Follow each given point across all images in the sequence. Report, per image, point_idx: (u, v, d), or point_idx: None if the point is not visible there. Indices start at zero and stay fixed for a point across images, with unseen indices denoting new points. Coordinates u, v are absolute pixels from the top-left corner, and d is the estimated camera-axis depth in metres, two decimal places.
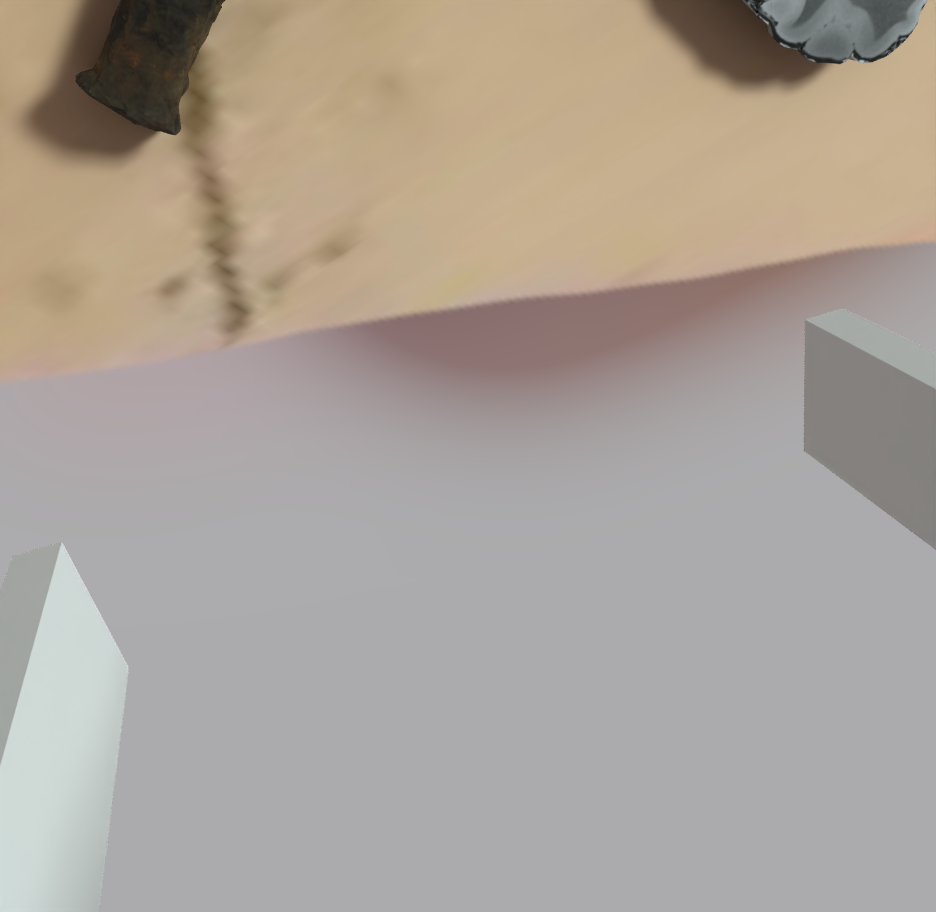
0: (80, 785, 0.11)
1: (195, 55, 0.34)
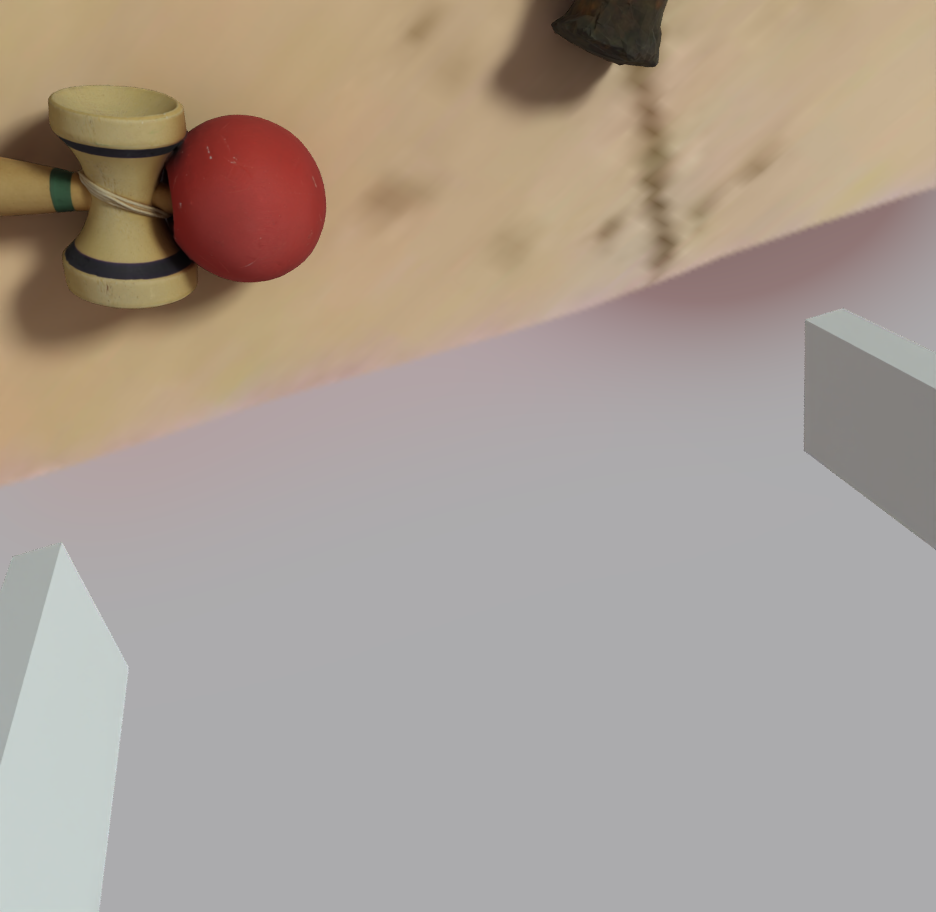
0: (81, 785, 0.11)
1: None
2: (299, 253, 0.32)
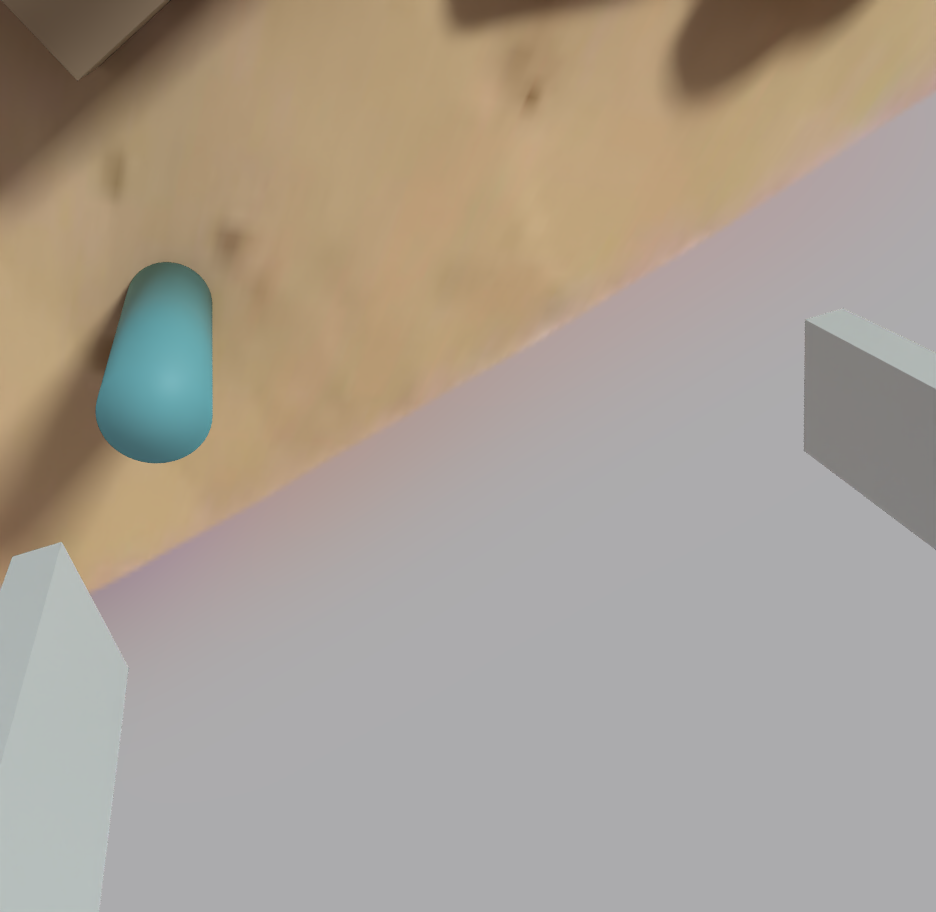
0: (80, 785, 0.11)
1: None
2: None
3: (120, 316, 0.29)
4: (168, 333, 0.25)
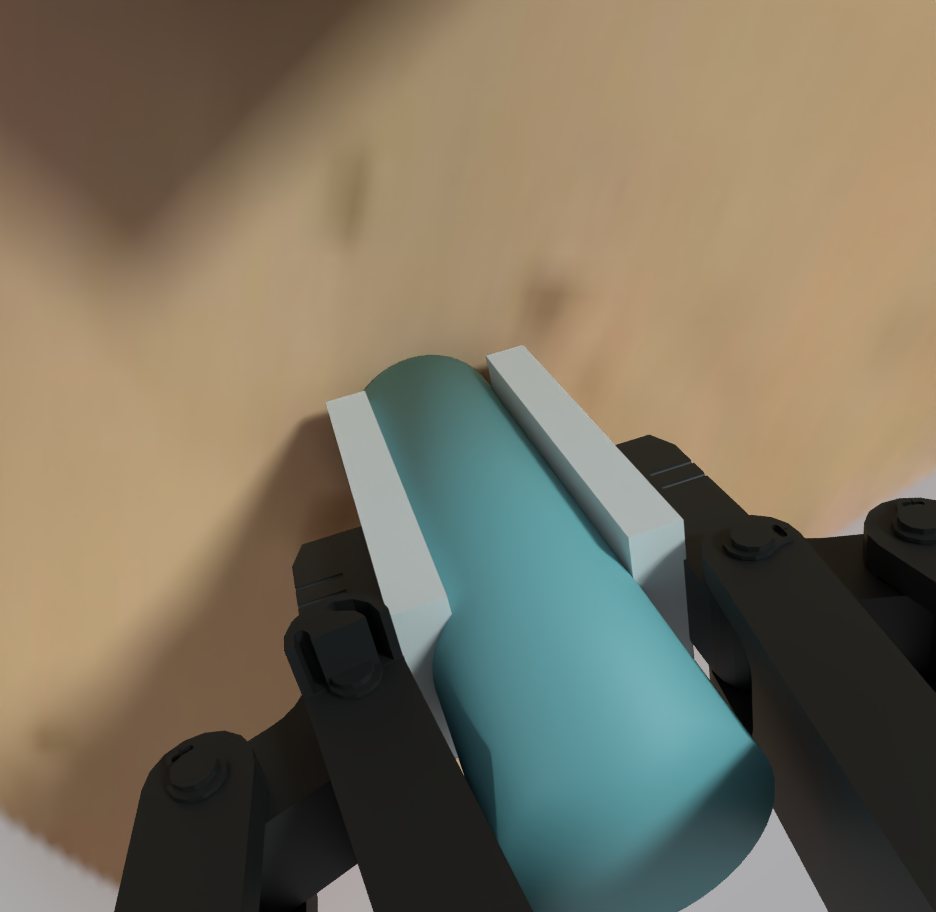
0: None
1: None
2: None
3: None
4: (592, 578, 0.10)
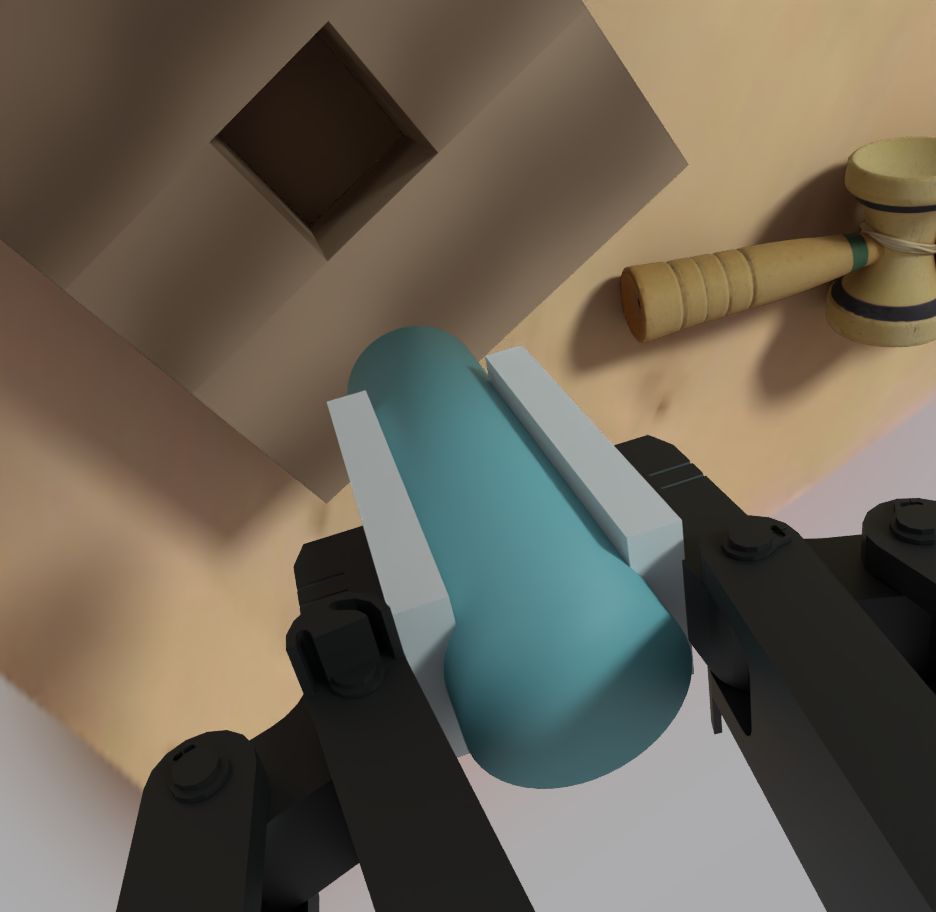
0: None
1: None
2: None
3: None
4: (545, 495, 0.12)
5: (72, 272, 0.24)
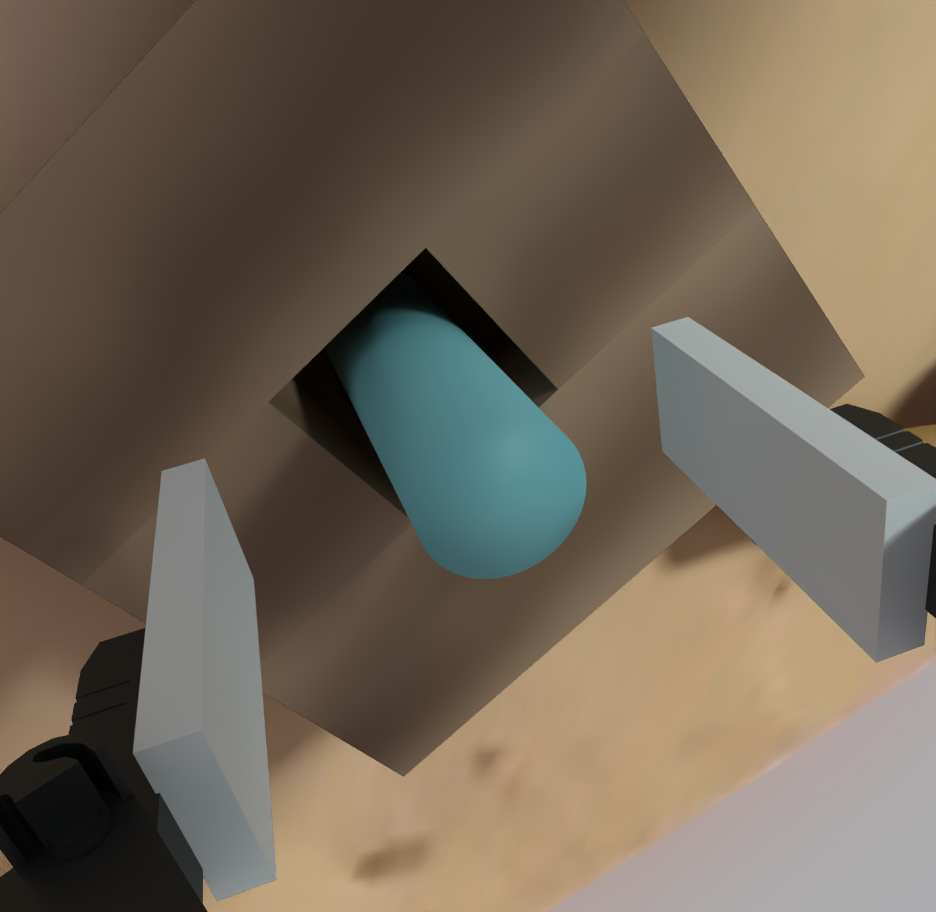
0: (243, 660, 0.13)
1: None
2: None
3: (342, 350, 0.20)
4: (477, 366, 0.16)
5: (92, 563, 0.18)
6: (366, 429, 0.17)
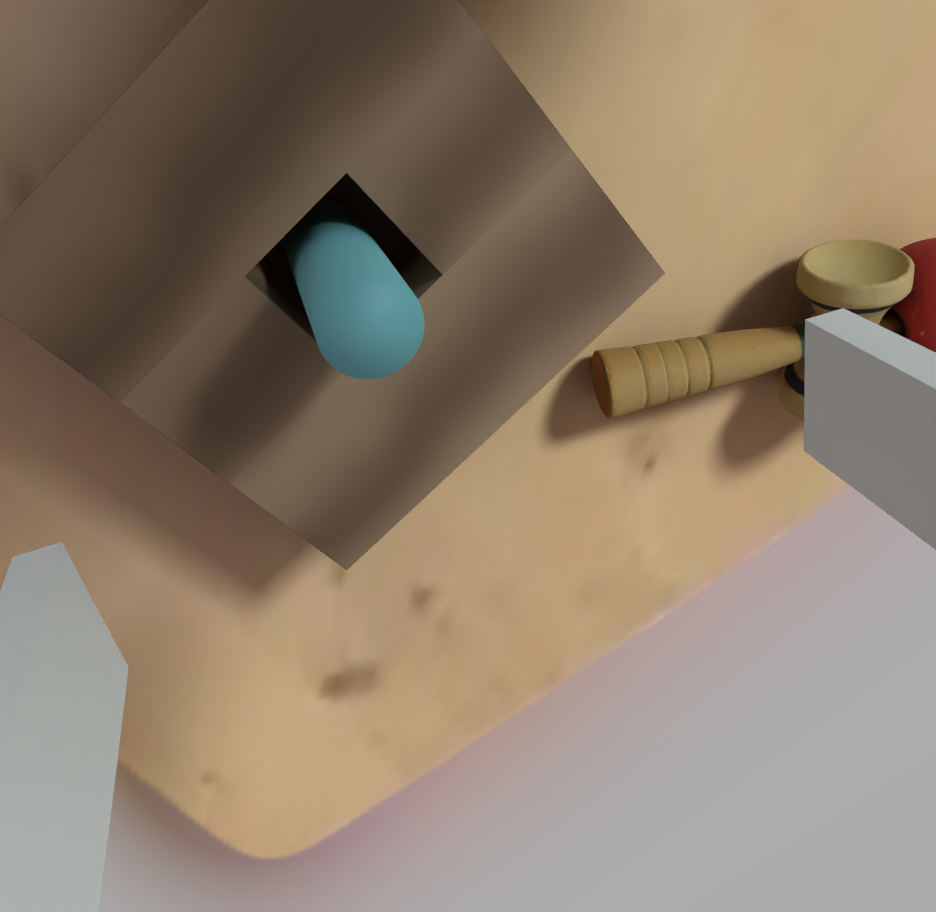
0: (80, 785, 0.11)
1: None
2: None
3: (292, 251, 0.29)
4: (365, 251, 0.25)
5: (127, 387, 0.27)
6: (301, 297, 0.27)
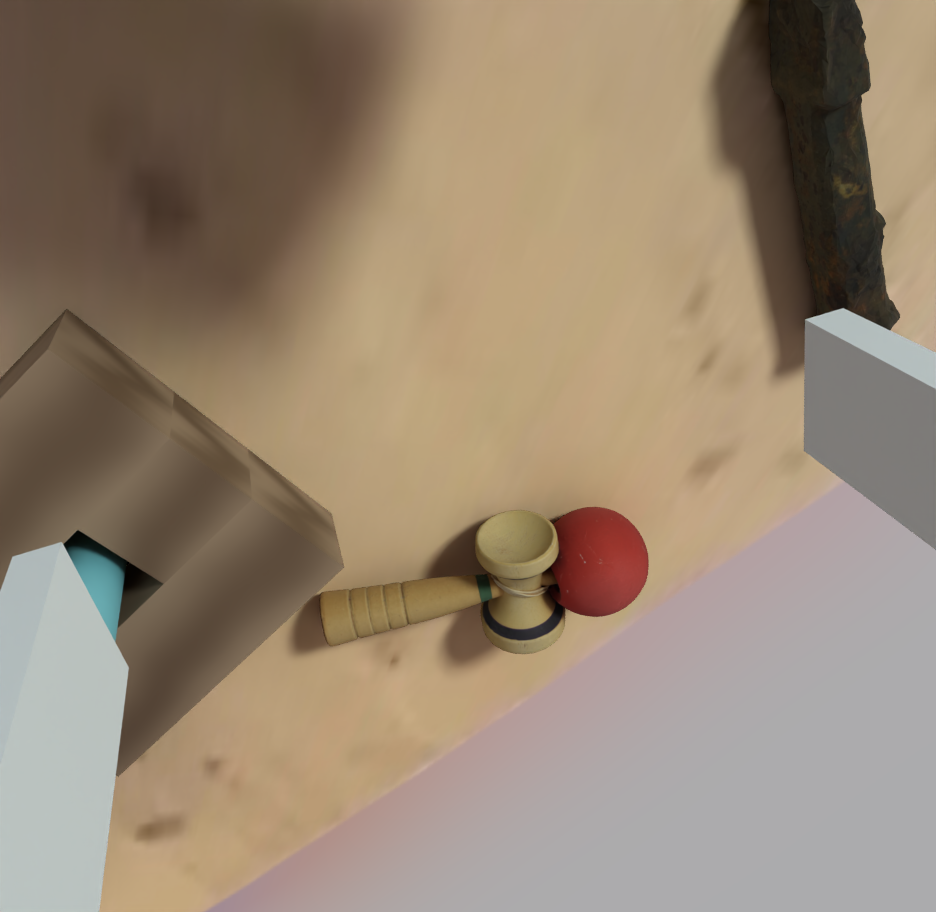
0: (80, 785, 0.11)
1: None
2: (639, 592, 0.47)
3: None
4: None
5: None
6: None
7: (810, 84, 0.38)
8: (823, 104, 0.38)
